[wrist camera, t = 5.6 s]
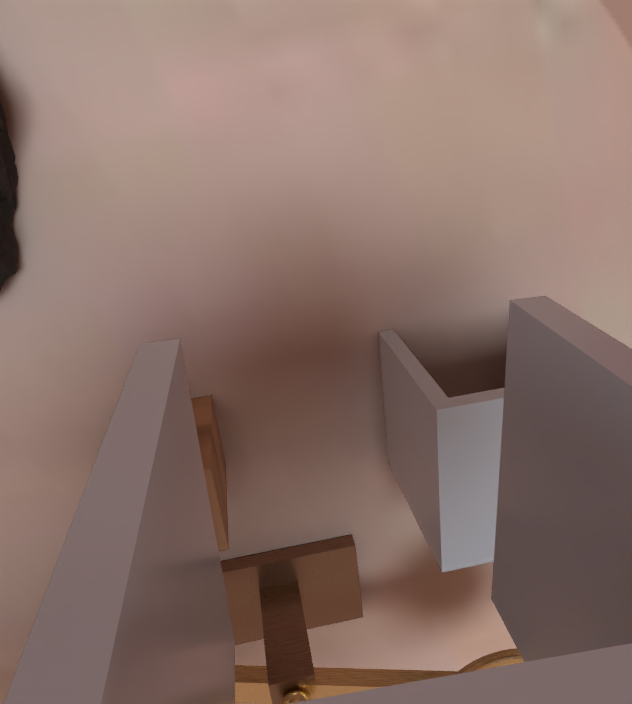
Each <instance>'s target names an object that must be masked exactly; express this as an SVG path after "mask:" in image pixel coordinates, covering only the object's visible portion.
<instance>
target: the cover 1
mask: <svg viewBox="0 0 632 704" xmlns="http://www.w3.org/2000/svg"><path fill="white" fill-rule="evenodd" d="M491 599H492V601H493V603H494V605H495V607H496V609H497V611H498V612H499V614H500V616H501V618H502V620H503V622H504V624H505V626H506V628H507V630H508V632H509V633H510V635H511V637H512V639H513V641H514V643H515V645H516V647H517V649H518V651H519V653H520V654H521V656H522V658H523V660H524V662H523V663H517V664H511V665H506V666H500V667H494V668H489V669H483V670H477V671H472V672H466V673H460V674H455V675H449V676H443V677H438V678H432V679H426V680H421V681H415V682H409V683H404V684H398V685H392V686H387V687H381V688H375V689H370V690H364V691H358V692H353V693H347V694H341V695H336V696H330V697H324V698H319V699H313V700H307V701H302V702H296V703H290V704H632V349H631V348H629V347H628V346H626V345H624V344H623V343H621V342H620V341H618V340H616V339H615V338H613V337H611V336H610V335H608V334H607V333H605V332H603V331H602V330H600V329H598V328H597V327H595V326H594V325H592V324H590V323H589V322H587V321H585V320H584V319H582V318H581V317H579V316H577V315H576V314H574V313H572V312H571V311H569V310H568V309H566V308H564V307H563V306H561V305H559V304H558V303H556V302H555V301H553V300H551V299H550V298H548V297H546V296H541V297H532V298H523V299H515V300H510V308H509V324H508V340H507V356H506V372H505V388H504V404H503V420H502V436H501V452H500V469H499V485H498V501H497V517H496V533H495V549H494V565H493V581H492V597H491ZM4 704H235V640H234V634H233V629H232V623H231V618H230V612H229V607H228V601H227V596H226V590H225V584H224V579H223V573H222V568H221V562H220V557H219V551H218V546H217V540H216V535H215V529H214V524H213V518H212V512H211V507H210V501H209V496H208V490H207V485H206V479H205V474H204V468H203V463H202V457H201V452H200V446H199V440H198V435H197V429H196V424H195V418H194V413H193V407H192V402H191V396H190V391H189V385H188V380H187V374H186V368H185V363H184V357H183V352H182V346H181V341H180V339H172V340H164V341H155V342H146V343H140V345H139V347H138V350H137V353H136V355H135V358H134V361H133V363H132V366H131V369H130V371H129V374H128V377H127V379H126V382H125V384H124V387H123V390H122V392H121V395H120V398H119V400H118V403H117V406H116V408H115V411H114V413H113V416H112V419H111V421H110V424H109V427H108V429H107V432H106V435H105V437H104V440H103V443H102V445H101V448H100V450H99V453H98V456H97V458H96V461H95V464H94V466H93V469H92V472H91V474H90V477H89V479H88V482H87V485H86V487H85V490H84V493H83V495H82V498H81V501H80V503H79V506H78V509H77V511H76V514H75V516H74V519H73V522H72V524H71V527H70V530H69V532H68V535H67V538H66V540H65V543H64V545H63V548H62V551H61V553H60V556H59V559H58V561H57V564H56V567H55V569H54V572H53V575H52V577H51V580H50V582H49V585H48V588H47V590H46V593H45V596H44V598H43V601H42V604H41V606H40V609H39V611H38V614H37V617H36V619H35V622H34V625H33V627H32V630H31V633H30V635H29V638H28V641H27V643H26V646H25V648H24V651H23V654H22V656H21V659H20V662H19V664H18V667H17V670H16V672H15V675H14V677H13V680H12V683H11V685H10V688H9V691H8V693H7V696H6V699H5V701H4Z"/></svg>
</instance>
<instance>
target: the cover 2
mask: <svg viewBox="0 0 632 704" xmlns="http://www.w3.org/2000/svg"><path fill="white" fill-rule="evenodd" d="M379 343H380V356H381V370H382V383H383V396H384V410H385V423H386V437H387V450H388V464H389V466H390V468H391V470H392V472H393V474H394V476H395V478H396V480H397V482H398V484H399V486H400V488H401V490H402V492H403V494H404V496H405V498H406V501H407V503H408V505H409V507H410V509H411V511H412V513H413V515H414V517H415V519H416V521H417V523H418V525H419V527H420V529H421V531H422V533H423V535H424V537H425V539H426V541H427V543H428V545H429V547H430V549H431V551H432V553H433V555H434V558H435V560H436V562H437V564H438V566H439V568H440V570H441V572H442V573H443V572H447V571H452V570H457V569H461V568H466V567H471V566H475V565H480V564H485V563H489V562H494V549H495V533H496V517H497V501H498V485H499V469H500V452H501V436H502V420H503V404H504V388H499V389H494V390H488V391H483V392H477V393H472V394H466V395H461V396H455V397H450V398H448V397H447V396H446V394H445V393H444V392H443V391H442V389H441V388H440V387H439V386H438V384H437V383H436V382H435V381H434V379H433V378H432V377H431V376H430V374H429V373H428V372H427V371H426V370H425V368H424V367H423V366H422V365H421V363H420V362H419V361H418V360H417V358H416V357H415V356H414V355H413V353H412V352H411V351H410V350H409V349H408V347H407V346H406V345H405V344H404V342H403V341H402V340H401V339H400V337H399V336H398V335H397V334H396V332H395V331H394V330H393V329H392V330H386V331H380V332H379Z"/></svg>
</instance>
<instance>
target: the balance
mask: <svg viewBox="0 0 632 704" xmlns="http://www.w3.org/2000/svg"><path fill="white" fill-rule="evenodd" d="M220 562H221V568H222V573H223V579H224V584H225V590H226V596H227V601H228V607H229V612H230V618H231V623H232V629H233V634H234V640H235V645H237V644H242V643H246V642H251V641H255V640H260V639H264V644H265V654H266V665H267V666H245V665H235V703H257V704H290V703H296V702H302V701H307V700H313V699H319V698H324V697H330V696H336V695H341V694H347V693H353V692H358V691H364V690H370V689H375V688H381V687H387V686H392V685H398V684H404V683H409V682H415V681H421V680H426V679H432V678H438V677H443V676H449V675H455V674H460V673H466V672H472V671H477V670H483V669H489V668H494V667H500V666H506V665H511V664H517V663H523V662H524V660H523V658H522V656H521V654H520V653H519V651H518V649H508V650H502V651H498V652H495V653H491V654H489V655H486V656H483V657H481V658H479V659H477V660H475V661H473V662H471V663H470V664H468V665H466V666H465V667H463V668H462V669H461V670H459V671H423V670H388V669H352V668H316V667H313V663H312V658H311V652H310V646H309V641H308V635H307V630H306V629H310V628H315V627H319V626H324V625H329V624H333V623H338V622H342V621H347V620H351V619H356V618H361V617H363V612H362V603H361V594H360V585H359V576H358V566H357V557H356V548H355V543H354V540H353V537H352V535H348V536H343V537H338V538H333V539H328V540H323V541H318V542H313V543H309V544H304V545H299V546H294V547H289V548H284V549H279V550H274V551H269V552H264V553H259V554H254V555H250V556H245V557H240V558H235V559H230V560H225V561H220Z"/></svg>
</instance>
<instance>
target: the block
mask: <svg viewBox="0 0 632 704" xmlns="http://www.w3.org/2000/svg"><path fill="white" fill-rule="evenodd" d="M191 402H192V407H193V413H194V418H195V424H196V429H197V435H198V440H199V446H200V452H201V457H202V463H203V468H204V474H205V479H206V485H207V490H208V496H209V501H210V507H211V512H212V518H213V524H214V529H215V535H216V540H217V546H218V551H223V550H228V549H229V546H228V517H227V488H226V464H225V459H224V454H223V449H222V445H221V440H220V435H219V430H218V425H217V421H216V416H215V411H214V406H213V401H212V397H211V395H210V396H204V397H198V398H193V399H191Z"/></svg>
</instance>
